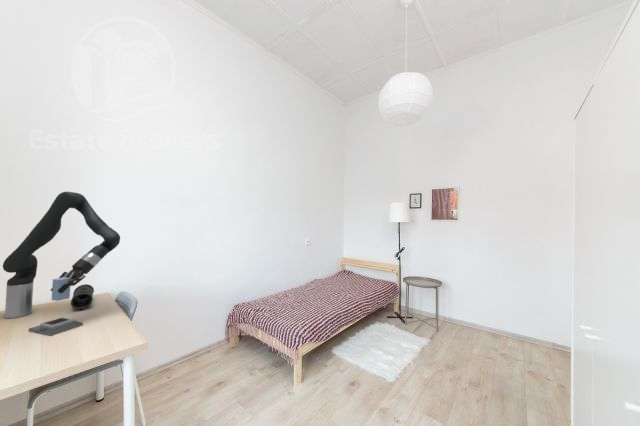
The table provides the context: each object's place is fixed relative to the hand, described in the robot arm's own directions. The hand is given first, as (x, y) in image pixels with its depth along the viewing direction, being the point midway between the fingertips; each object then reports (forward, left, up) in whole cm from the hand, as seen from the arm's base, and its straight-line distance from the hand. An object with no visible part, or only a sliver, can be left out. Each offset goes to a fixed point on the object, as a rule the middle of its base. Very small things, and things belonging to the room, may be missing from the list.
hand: (56, 291), depth 116 cm
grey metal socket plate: (0, +1, -18) cm, 18 cm away
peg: (0, +2, -4) cm, 5 cm away
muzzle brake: (-28, +27, -18) cm, 43 cm away
